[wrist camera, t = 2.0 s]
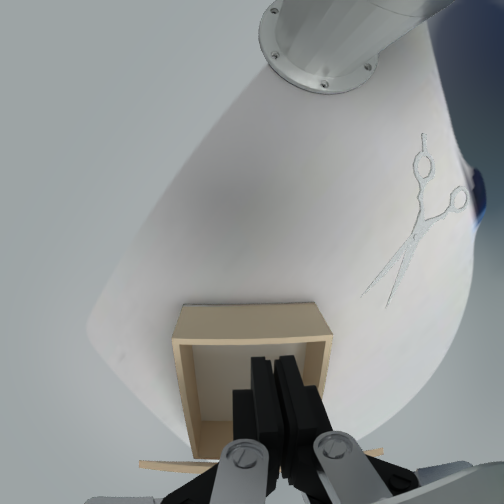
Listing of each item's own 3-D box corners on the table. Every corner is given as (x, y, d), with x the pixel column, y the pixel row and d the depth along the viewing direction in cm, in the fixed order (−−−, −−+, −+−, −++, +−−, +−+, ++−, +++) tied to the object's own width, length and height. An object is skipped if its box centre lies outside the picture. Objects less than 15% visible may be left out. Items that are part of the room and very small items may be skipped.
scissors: (476, 185, 29) (402, 321, 33) (472, 184, 30) (400, 319, 34) (423, 132, 27) (339, 287, 31) (419, 132, 28) (336, 284, 32)
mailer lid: (139, 460, 14) (139, 467, 13) (382, 447, 15) (383, 454, 14) (189, 461, 29) (189, 465, 29) (313, 456, 30) (314, 460, 29)
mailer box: (183, 304, 31) (171, 338, 24) (314, 302, 32) (333, 334, 25) (197, 420, 36) (193, 458, 29) (300, 417, 37) (309, 454, 30)
